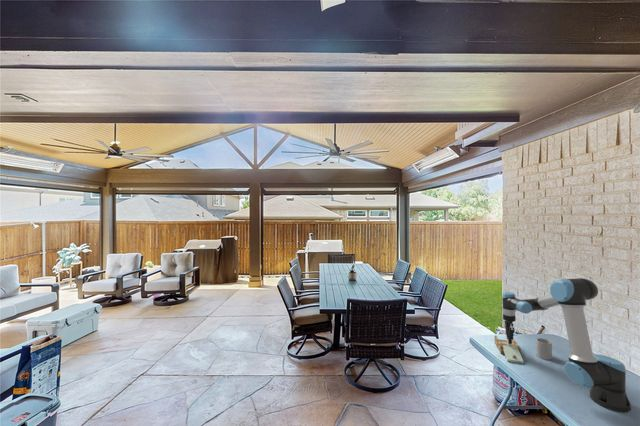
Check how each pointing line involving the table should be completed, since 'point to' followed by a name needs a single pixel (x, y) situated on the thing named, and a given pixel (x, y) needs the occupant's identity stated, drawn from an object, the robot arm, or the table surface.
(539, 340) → the mug
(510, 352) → the lid
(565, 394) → the table surface
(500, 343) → the wooden slatted rack
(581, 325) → the robot arm
